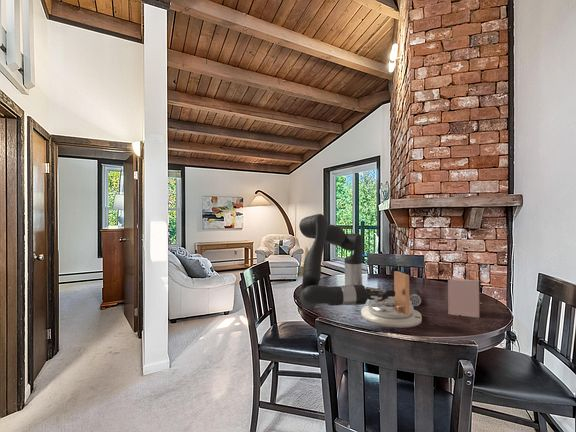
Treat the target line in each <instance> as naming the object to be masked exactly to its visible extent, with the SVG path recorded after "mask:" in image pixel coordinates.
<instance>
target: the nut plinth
mask: <svg viewBox="0 0 576 432" xmlns="http://www.w3.org/2000/svg"><path fill="white" fill-rule="evenodd" d="M360 310H361V311H360V312H361V313H360V315H361V318H362V319H363V320H365V321H366V322H368V323H371V324H374V325H377V326H381V327H387V328H393V329H394V328H395V329H396V328H399V329H400V328H401V329H402V328H412V327H417V326H418V325H420V324H422V322H423V321H422V314H421V313H420V312H419V311H418V310H416V309H414V315H413V316H412V317H410V318H405V319H389V318H383V317H379V316H376V315H373V314H371V313H370V312H369V310H368V305H365V306H363V307H362V308H361V309H360Z"/></svg>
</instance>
